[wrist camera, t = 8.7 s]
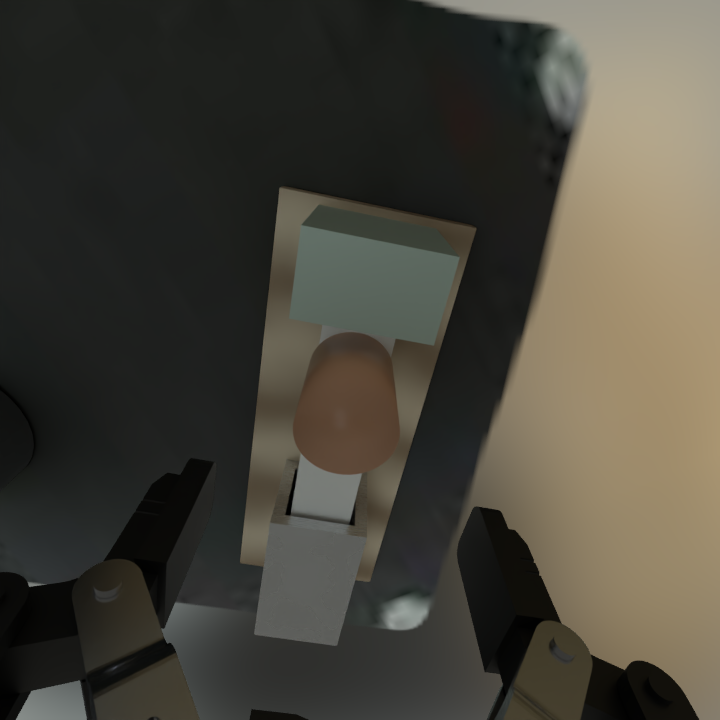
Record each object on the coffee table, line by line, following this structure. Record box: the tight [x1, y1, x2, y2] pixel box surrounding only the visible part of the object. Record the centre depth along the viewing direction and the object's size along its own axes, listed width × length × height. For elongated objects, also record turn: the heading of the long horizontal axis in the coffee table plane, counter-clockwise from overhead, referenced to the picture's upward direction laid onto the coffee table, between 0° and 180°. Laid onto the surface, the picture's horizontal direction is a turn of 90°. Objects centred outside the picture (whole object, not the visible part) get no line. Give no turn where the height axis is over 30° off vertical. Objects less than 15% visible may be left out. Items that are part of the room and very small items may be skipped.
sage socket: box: [289, 204, 460, 346], centre depth 20 cm, size 4×6×6 cm, turn 79°
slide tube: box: [290, 325, 400, 525], centre depth 21 cm, size 17×4×8 cm, turn 169°
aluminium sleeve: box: [254, 459, 367, 646], centre depth 29 cm, size 10×5×5 cm, turn 169°
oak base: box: [240, 186, 477, 582], centre depth 28 cm, size 27×10×1 cm, turn 169°
